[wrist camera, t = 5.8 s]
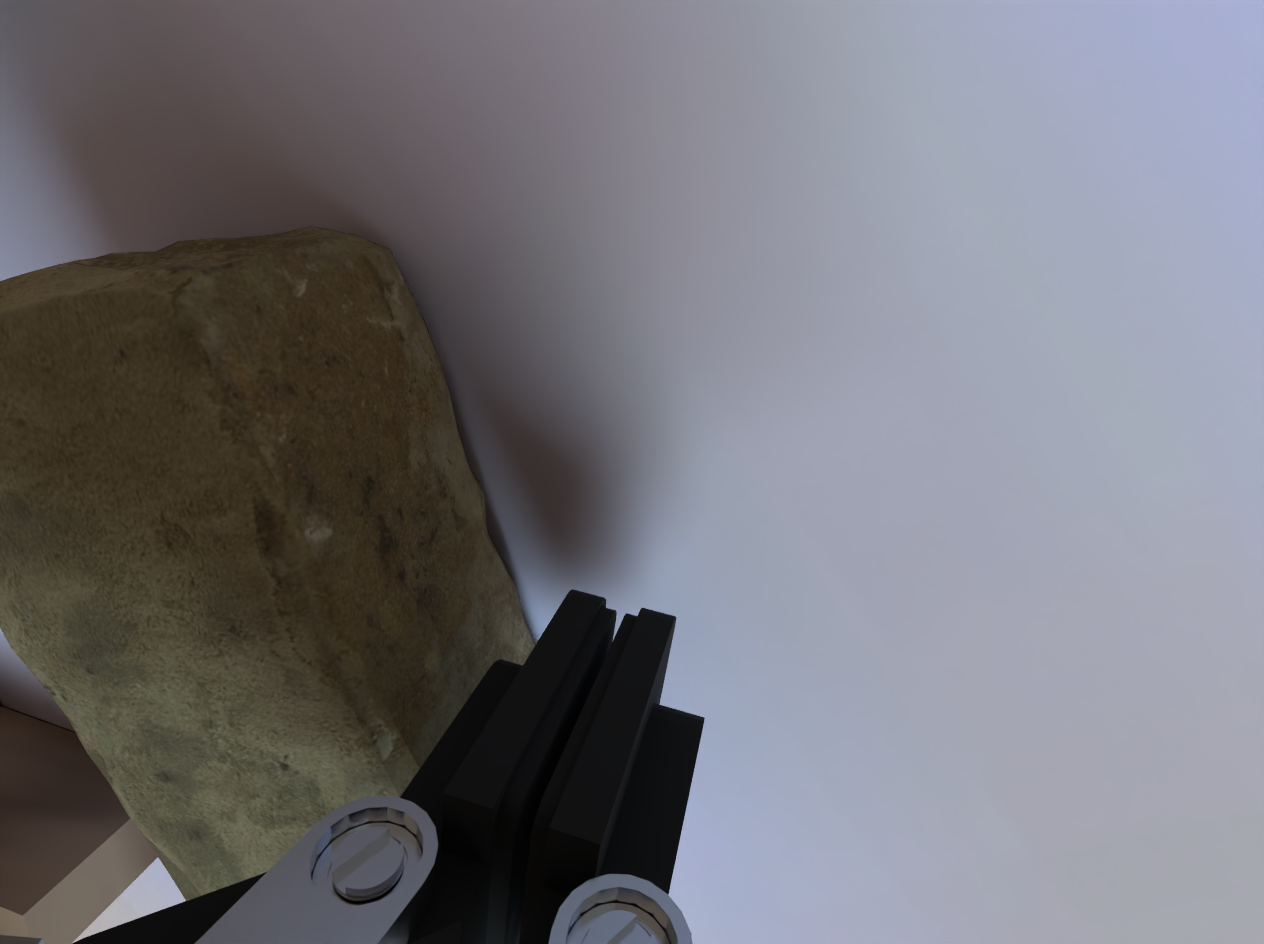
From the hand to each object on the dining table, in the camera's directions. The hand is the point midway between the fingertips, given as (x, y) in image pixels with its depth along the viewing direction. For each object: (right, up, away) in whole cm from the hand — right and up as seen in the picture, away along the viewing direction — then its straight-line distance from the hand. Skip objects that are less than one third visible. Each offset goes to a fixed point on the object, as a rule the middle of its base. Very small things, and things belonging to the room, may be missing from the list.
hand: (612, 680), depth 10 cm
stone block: (-5, +2, +3) cm, 6 cm away
